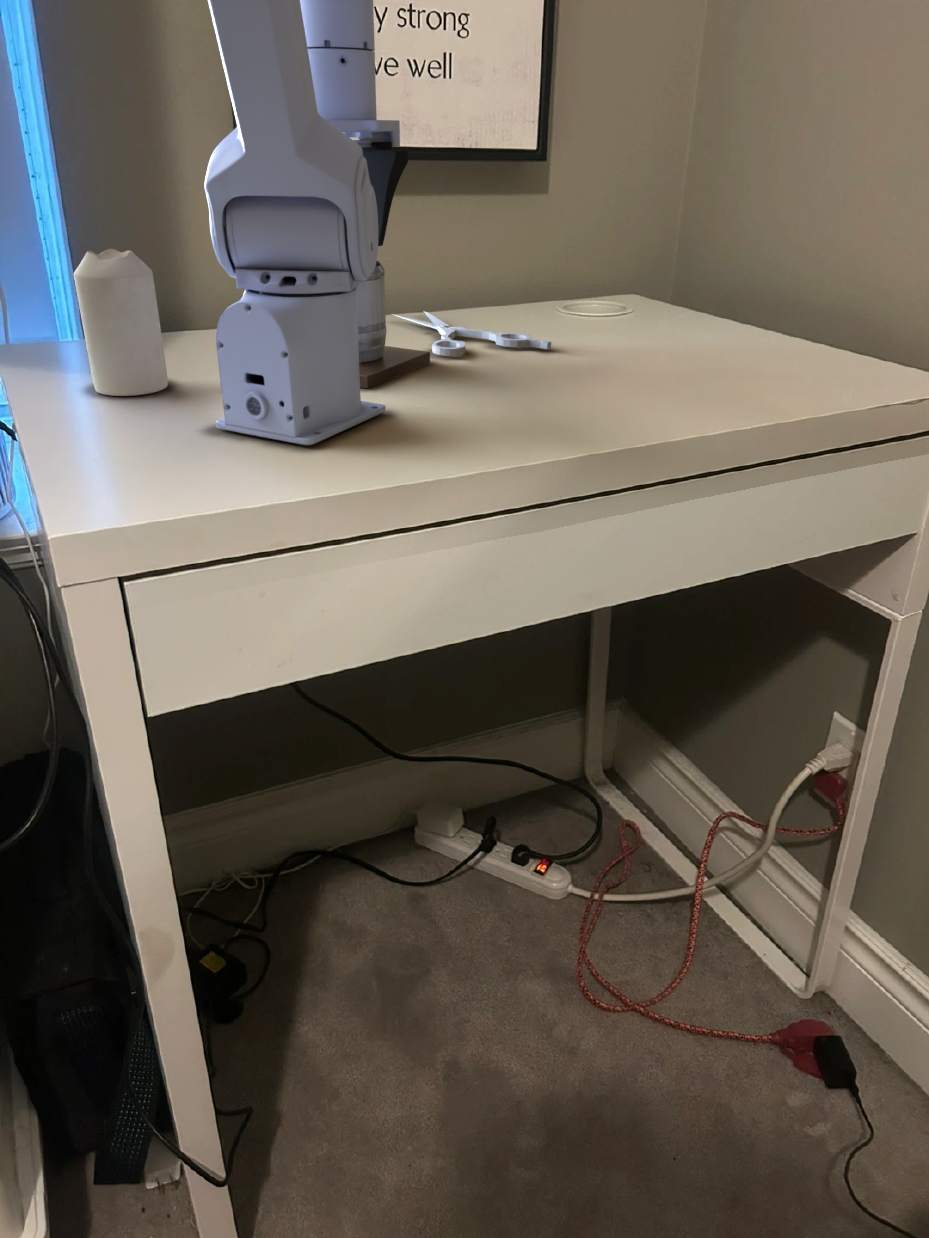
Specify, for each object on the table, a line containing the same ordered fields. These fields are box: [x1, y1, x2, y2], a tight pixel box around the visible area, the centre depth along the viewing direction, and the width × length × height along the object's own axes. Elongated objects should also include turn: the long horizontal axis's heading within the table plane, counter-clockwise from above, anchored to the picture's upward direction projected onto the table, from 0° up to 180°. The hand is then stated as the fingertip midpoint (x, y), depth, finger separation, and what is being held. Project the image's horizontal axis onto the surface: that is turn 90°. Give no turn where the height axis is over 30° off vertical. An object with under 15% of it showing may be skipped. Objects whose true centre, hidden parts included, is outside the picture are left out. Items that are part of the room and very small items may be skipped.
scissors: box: [391, 310, 552, 357], centre depth 90 cm, size 11×1×20 cm
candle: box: [73, 248, 169, 397], centre depth 69 cm, size 6×6×10 cm
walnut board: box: [359, 345, 431, 390], centre depth 78 cm, size 10×10×1 cm
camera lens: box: [356, 260, 387, 363], centre depth 76 cm, size 6×6×8 cm
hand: (344, 250), depth 74 cm, fingers open, 7 cm apart
